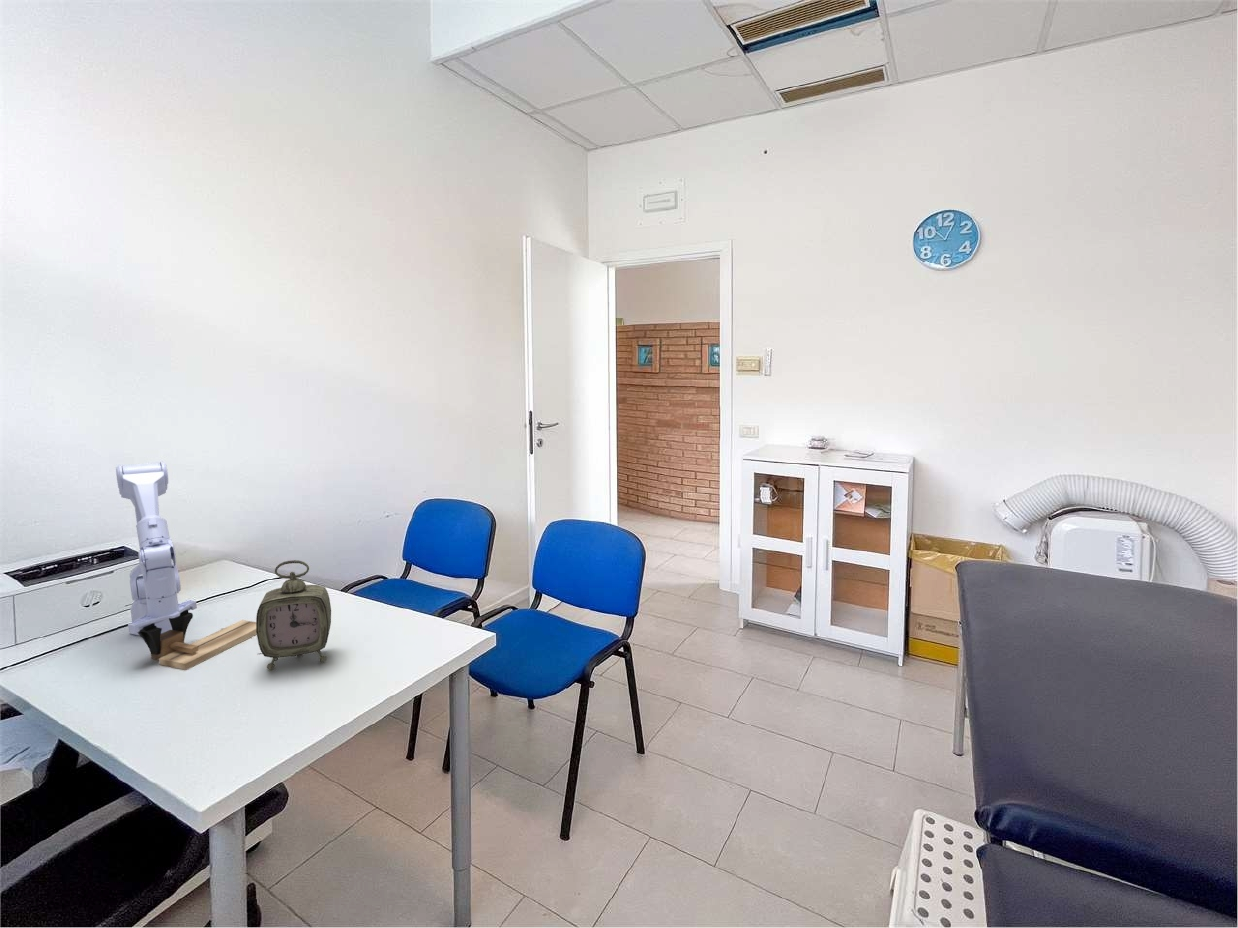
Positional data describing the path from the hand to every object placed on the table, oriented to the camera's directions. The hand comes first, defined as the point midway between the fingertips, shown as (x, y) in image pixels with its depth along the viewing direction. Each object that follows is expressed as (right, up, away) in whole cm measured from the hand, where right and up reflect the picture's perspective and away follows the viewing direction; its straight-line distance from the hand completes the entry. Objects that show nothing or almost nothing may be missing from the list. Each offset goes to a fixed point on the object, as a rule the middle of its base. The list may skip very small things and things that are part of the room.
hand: (167, 648), depth 138 cm
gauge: (+3, -2, 0) cm, 4 cm away
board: (+8, -1, +5) cm, 10 cm away
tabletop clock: (+32, -3, -1) cm, 32 cm away
